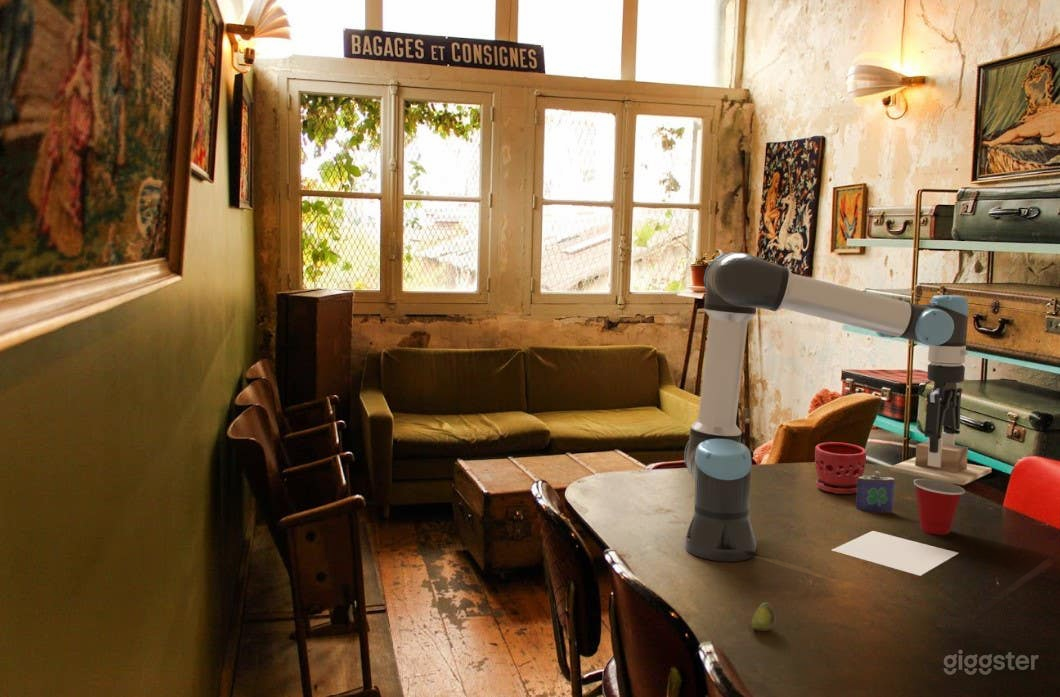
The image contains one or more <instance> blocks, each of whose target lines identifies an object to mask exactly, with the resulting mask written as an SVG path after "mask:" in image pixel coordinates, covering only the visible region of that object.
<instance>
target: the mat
mask: <svg viewBox="0 0 1060 697" xmlns="http://www.w3.org/2000/svg"><path fill="white" fill-rule="evenodd" d="M831 551H832V552H836V553H839V554H843V555H847V556H849V557H852V558H857V559H861V560H863V561H868V562H870V563H874V564H877V565H881V566H885V567H888V568H891V569H895V570H899V571H902V572H906V573H909V574H912V575H916V576H923V575H924V574H926V573H928V572H929V571H931V570H933V569H934V568H936V567H938V566H940V565H941V564H943V563H945V562H947V561H948V560H950V559H952V558H953V557H955V556H957V555H958V554H959V552H957V551H953V550H950V549H949V550H948V549H945V548H940V547H937V546H932V545H929V544H927V543H921V542H919V541H913V540H910V539H906V538H903V537H898V536H895V535H891V534H887V533H883V532H880V531H879V532H878V531H875V530H871V531H869V532H867V533H865V534H862V535H860V536H858V537H856V538H854V539H851V540H850V541H848V542H845V543H843V544H841V545H839V546H837V547H835V548H832V549H831Z"/></svg>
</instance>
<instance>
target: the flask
mask: <svg viewBox="0 0 1060 697" xmlns="http://www.w3.org/2000/svg"><path fill="white" fill-rule="evenodd" d="M881 475H882V473H881V471H879V470H878V471H877V470H875V471H874V473H873V474H872V475H867V476H866V475H864V474H863V475H862V477H858V478H857V492H856V497H855V498H856V500H855V509H857V510H860V511H867V512H870V513H874V514H878V515H892V514H894V508H895V507H894V505H895V490H896V489H895V486H896V479H895V478H894V477H890V476H887V477H881Z"/></svg>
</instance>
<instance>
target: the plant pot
mask: <svg viewBox="0 0 1060 697" xmlns="http://www.w3.org/2000/svg"><path fill="white" fill-rule="evenodd" d="M836 452H837V453H836ZM866 460H867V451H866V449H865V447H862V446H859V445H857V444H851V443H846V442H836V441H834V442H831V441H830V442H822V443H818V444H817V445H816V446H815V448H814V466H815V470H816V474H817V476H818V478H817V479H816V481H815V482H816V485H817V487H818V488H819V489H821V490H823V491H825V492H829V493H832V494H839V495H849V494H855V493H857V478H858V477H862V476H864V472H865V469H866V463H867V461H866Z"/></svg>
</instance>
